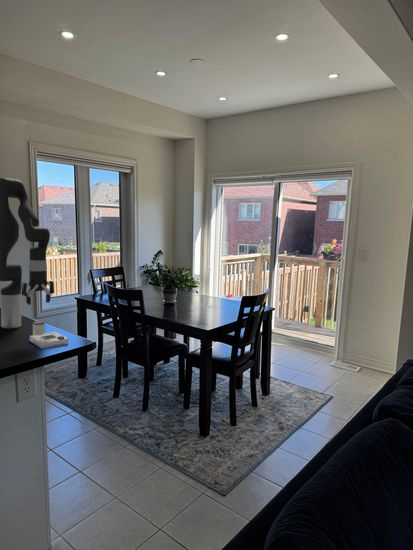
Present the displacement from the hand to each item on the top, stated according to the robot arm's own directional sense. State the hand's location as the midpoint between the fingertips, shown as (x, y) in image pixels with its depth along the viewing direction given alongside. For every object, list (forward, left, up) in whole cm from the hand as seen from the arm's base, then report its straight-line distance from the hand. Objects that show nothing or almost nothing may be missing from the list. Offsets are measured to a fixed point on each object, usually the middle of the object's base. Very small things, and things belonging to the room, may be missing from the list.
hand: (38, 303), depth 181 cm
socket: (+12, 0, -16) cm, 20 cm away
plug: (0, 0, -16) cm, 16 cm away
